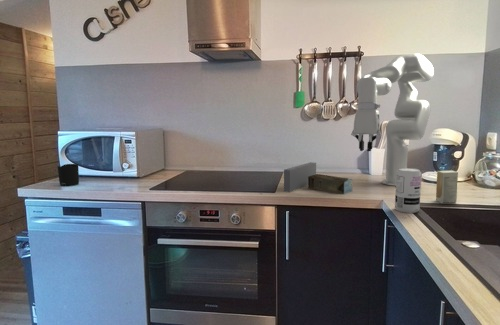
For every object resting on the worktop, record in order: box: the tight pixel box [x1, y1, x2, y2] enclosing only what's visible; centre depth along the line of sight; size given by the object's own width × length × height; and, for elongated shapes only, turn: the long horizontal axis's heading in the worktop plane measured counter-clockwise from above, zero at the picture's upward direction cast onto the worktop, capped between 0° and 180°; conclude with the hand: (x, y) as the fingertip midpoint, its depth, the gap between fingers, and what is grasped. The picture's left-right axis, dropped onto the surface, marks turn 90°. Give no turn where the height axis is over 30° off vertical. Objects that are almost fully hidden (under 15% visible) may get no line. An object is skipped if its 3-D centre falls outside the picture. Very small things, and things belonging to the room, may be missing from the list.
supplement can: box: [394, 167, 423, 214], centre depth 130 cm, size 8×8×15 cm
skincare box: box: [435, 170, 459, 204], centre depth 143 cm, size 6×4×12 cm
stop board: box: [283, 161, 317, 193], centre depth 174 cm, size 3×28×10 cm, turn 145°
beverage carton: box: [307, 173, 353, 195], centre depth 166 cm, size 8×19×7 cm, turn 47°
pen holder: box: [56, 163, 80, 187], centre depth 182 cm, size 9×9×10 cm
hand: (365, 150), depth 154 cm, fingers open, 2 cm apart
